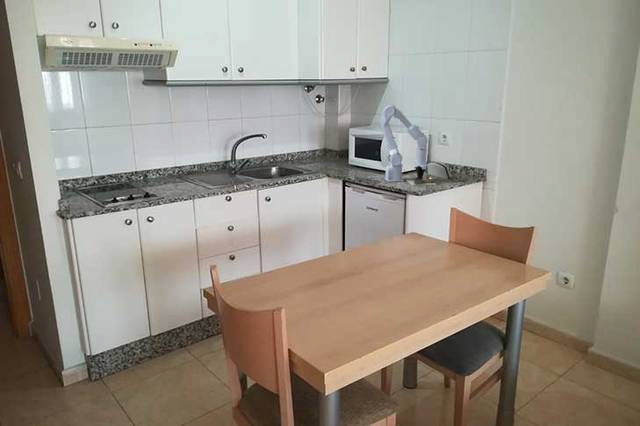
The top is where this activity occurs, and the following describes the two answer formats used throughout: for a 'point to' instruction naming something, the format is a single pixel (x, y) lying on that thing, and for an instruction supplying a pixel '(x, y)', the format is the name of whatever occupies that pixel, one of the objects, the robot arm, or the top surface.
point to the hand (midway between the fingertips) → (419, 179)
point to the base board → (420, 184)
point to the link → (426, 181)
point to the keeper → (417, 180)
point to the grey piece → (438, 170)
